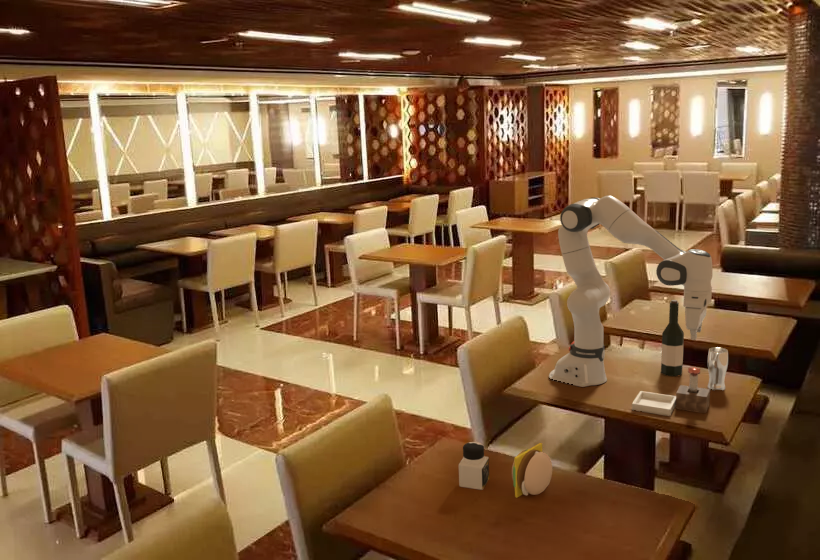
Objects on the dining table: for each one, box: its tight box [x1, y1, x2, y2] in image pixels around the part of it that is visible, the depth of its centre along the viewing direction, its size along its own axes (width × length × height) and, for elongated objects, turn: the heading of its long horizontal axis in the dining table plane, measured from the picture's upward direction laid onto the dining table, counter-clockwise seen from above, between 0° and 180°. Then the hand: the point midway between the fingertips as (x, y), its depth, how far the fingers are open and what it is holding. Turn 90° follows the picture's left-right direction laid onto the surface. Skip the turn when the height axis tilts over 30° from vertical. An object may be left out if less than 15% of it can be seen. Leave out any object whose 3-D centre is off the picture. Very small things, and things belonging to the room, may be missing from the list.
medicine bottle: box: [458, 441, 490, 491], centre depth 206 cm, size 7×7×12 cm
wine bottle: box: [660, 299, 685, 377], centre depth 283 cm, size 8×8×30 cm
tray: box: [631, 390, 676, 417], centre depth 254 cm, size 13×13×2 cm
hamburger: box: [511, 442, 553, 498], centre depth 200 cm, size 12×8×12 cm
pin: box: [687, 366, 701, 393], centre depth 251 cm, size 4×4×14 cm
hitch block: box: [675, 384, 711, 414], centre depth 252 cm, size 10×8×6 cm
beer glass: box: [707, 346, 729, 391], centre depth 267 cm, size 7×7×15 cm
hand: (695, 335), depth 247 cm, fingers open, 8 cm apart
